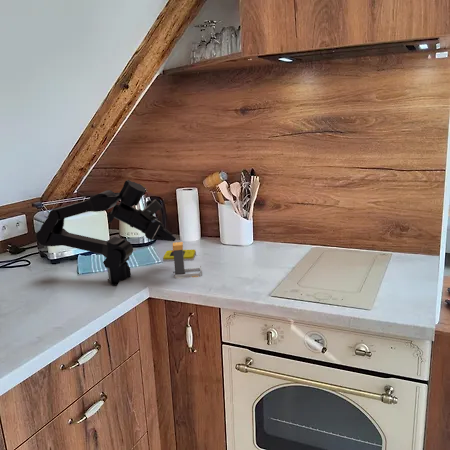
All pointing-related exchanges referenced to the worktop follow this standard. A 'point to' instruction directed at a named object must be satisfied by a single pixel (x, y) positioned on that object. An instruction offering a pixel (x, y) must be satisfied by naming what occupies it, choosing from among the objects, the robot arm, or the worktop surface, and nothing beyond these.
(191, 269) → the breaker panel
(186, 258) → the emergency button
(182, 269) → the toggle
